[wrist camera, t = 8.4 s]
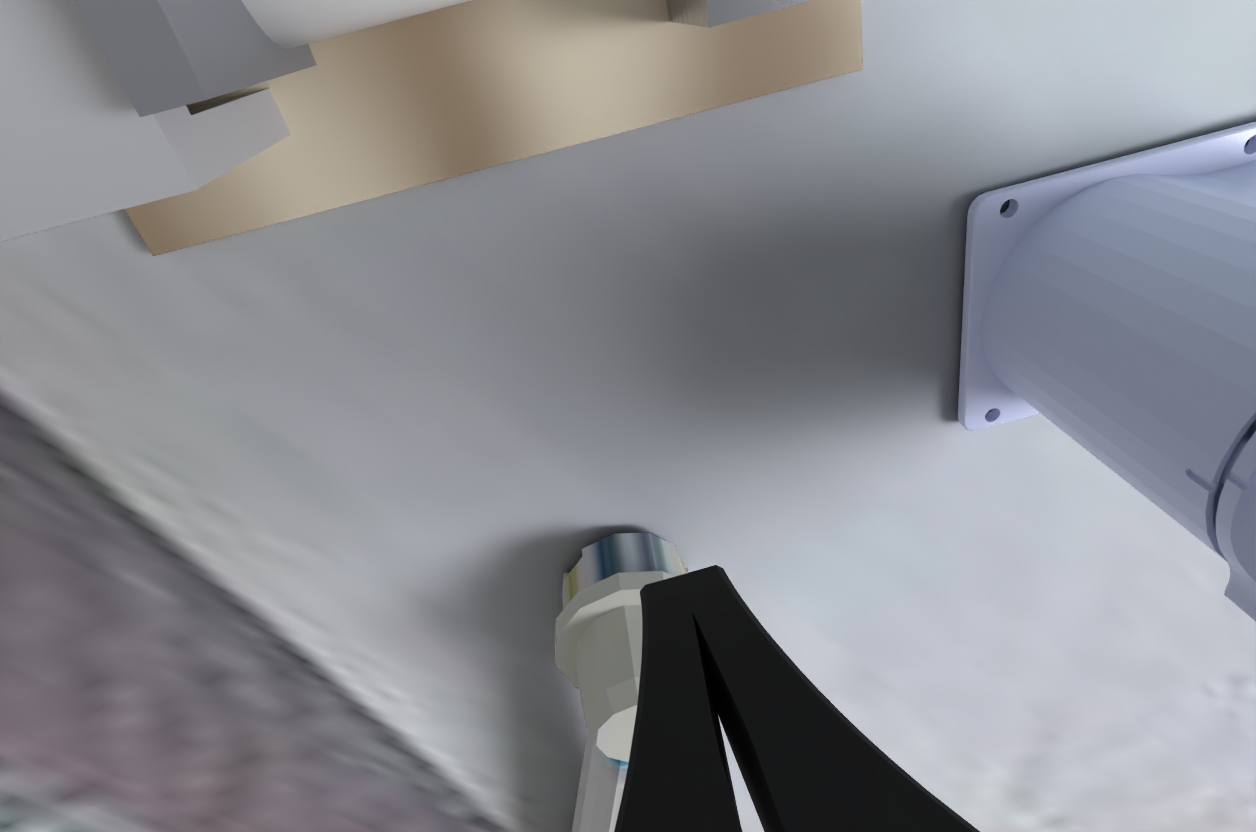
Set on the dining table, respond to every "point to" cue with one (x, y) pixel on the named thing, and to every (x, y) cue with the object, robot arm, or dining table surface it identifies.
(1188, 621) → the dining table surface
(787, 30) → the board
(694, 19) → the grey parallel plates
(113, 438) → the dining table surface
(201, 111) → the socket
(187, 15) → the tube
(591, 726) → the grey capped rod
